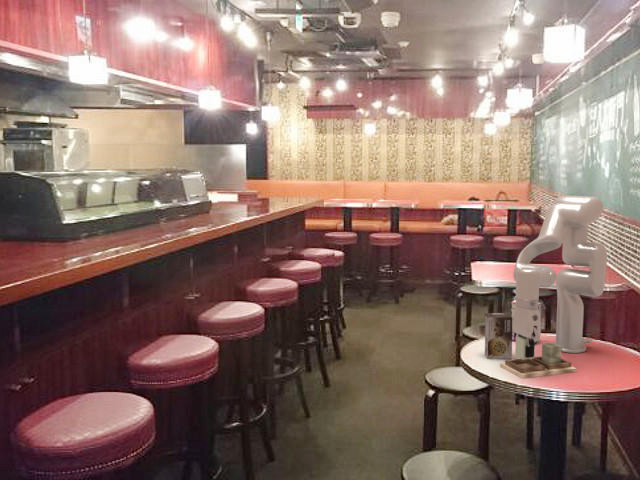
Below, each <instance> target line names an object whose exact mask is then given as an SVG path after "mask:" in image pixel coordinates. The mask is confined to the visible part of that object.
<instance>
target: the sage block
mask: <svg viewBox="0 0 640 480" xmlns="http://www.w3.org/2000/svg"><path fill="white" fill-rule="evenodd" d="M531 340H532V339H530V341H531ZM526 346H527V342H526V337H524V336H516V341H515V350H514V352H515V353H514V354H515V355H514V356H515V357H516V358H518V359H523V360H525V359H534V357H535V356H534V357H529V358H526V357H525V348H526ZM535 347H536V346H534V350H535Z"/></svg>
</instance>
